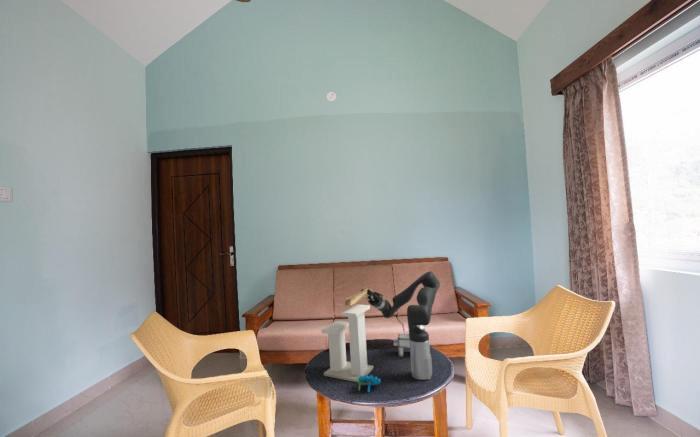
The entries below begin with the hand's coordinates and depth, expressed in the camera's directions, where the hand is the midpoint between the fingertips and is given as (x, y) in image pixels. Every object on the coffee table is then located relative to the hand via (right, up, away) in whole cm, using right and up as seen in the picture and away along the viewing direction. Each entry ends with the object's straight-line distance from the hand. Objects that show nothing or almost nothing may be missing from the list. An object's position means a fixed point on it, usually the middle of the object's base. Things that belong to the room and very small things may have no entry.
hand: (364, 291), depth 163 cm
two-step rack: (-8, -39, -9) cm, 41 cm away
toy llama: (+26, -38, +8) cm, 46 cm away
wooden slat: (-3, -3, -6) cm, 8 cm away
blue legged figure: (0, -38, -26) cm, 46 cm away
